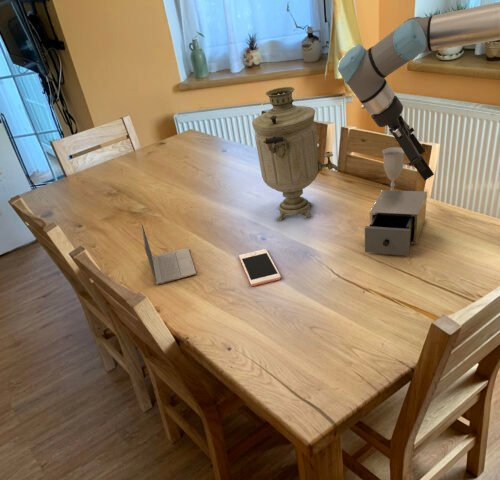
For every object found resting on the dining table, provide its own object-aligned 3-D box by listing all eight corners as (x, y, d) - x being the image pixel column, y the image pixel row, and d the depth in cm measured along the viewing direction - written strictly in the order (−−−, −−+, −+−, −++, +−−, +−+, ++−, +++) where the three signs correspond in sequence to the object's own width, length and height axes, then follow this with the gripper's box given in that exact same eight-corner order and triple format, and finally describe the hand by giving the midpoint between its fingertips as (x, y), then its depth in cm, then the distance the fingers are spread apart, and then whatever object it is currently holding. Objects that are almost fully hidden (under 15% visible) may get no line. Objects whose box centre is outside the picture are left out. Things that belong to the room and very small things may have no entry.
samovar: (318, 237, 158) (309, 104, 133) (248, 229, 170) (227, 105, 145) (352, 198, 177) (349, 75, 152) (286, 193, 189) (274, 78, 164)
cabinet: (415, 244, 146) (417, 214, 140) (369, 241, 151) (369, 212, 145) (425, 220, 156) (427, 191, 150) (381, 218, 162) (382, 190, 156)
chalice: (407, 202, 168) (409, 148, 157) (396, 210, 165) (398, 156, 154) (388, 198, 172) (389, 146, 161) (377, 206, 169) (377, 153, 158)
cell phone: (266, 251, 156) (265, 248, 155) (281, 279, 142) (281, 276, 141) (239, 257, 155) (238, 255, 154) (251, 286, 141) (251, 284, 140)
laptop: (196, 275, 151) (186, 237, 143) (156, 285, 149) (144, 247, 141) (188, 249, 165) (179, 213, 157) (151, 258, 164) (140, 222, 156)
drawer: (407, 258, 139) (409, 233, 134) (363, 254, 144) (363, 230, 139) (417, 231, 150) (419, 207, 145) (376, 229, 155) (376, 205, 150)
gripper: (365, 96, 137) (405, 152, 147) (375, 135, 119) (419, 196, 130) (389, 77, 133) (429, 136, 143) (402, 115, 116) (446, 179, 126)
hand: (424, 165), depth 137 cm, fingers open, 13 cm apart
